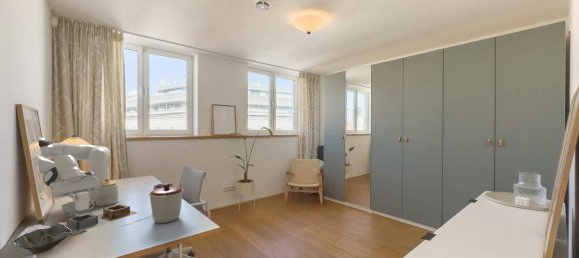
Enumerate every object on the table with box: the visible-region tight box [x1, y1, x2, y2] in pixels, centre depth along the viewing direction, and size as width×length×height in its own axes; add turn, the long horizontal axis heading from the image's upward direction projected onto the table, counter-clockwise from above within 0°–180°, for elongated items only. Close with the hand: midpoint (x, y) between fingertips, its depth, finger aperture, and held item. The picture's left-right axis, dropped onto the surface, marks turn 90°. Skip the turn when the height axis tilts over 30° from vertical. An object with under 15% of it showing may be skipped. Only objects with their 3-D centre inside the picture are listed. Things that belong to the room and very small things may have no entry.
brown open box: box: [96, 203, 139, 222], centre depth 145 cm, size 18×15×5 cm
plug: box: [74, 191, 90, 217], centre depth 129 cm, size 5×4×12 cm
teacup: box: [61, 200, 95, 218], centre depth 145 cm, size 15×12×8 cm
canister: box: [148, 183, 185, 224], centre depth 138 cm, size 18×18×21 cm
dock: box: [63, 212, 108, 236], centre depth 129 cm, size 18×15×5 cm
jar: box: [95, 178, 120, 207], centre depth 168 cm, size 13×13×18 cm
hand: (82, 198), depth 129 cm, fingers closed on plug, 4 cm apart
